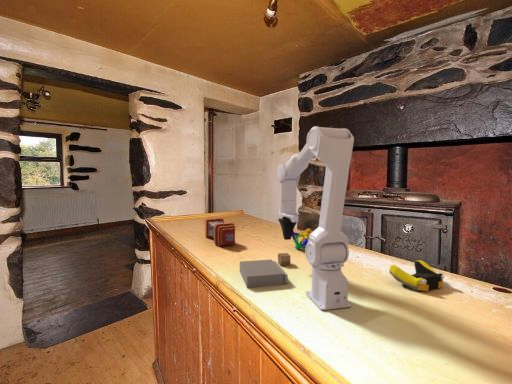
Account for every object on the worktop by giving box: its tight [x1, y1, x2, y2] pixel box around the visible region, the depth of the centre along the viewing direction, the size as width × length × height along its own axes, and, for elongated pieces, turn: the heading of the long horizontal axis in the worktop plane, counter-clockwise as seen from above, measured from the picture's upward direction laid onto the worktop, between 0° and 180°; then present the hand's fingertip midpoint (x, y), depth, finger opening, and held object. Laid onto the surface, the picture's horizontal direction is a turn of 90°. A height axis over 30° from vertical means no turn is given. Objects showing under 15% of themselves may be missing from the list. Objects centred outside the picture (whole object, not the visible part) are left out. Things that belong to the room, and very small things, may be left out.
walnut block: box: [277, 252, 291, 267], centre depth 93 cm, size 4×4×4 cm
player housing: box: [239, 259, 285, 289], centre depth 81 cm, size 13×11×3 cm
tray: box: [272, 260, 288, 284], centre depth 82 cm, size 13×11×2 cm
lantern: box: [204, 217, 236, 247], centre depth 125 cm, size 10×9×30 cm
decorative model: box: [291, 228, 313, 250], centre depth 114 cm, size 13×9×15 cm
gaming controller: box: [388, 259, 446, 292], centre depth 77 cm, size 15×6×10 cm
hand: (287, 239), depth 90 cm, fingers closed
